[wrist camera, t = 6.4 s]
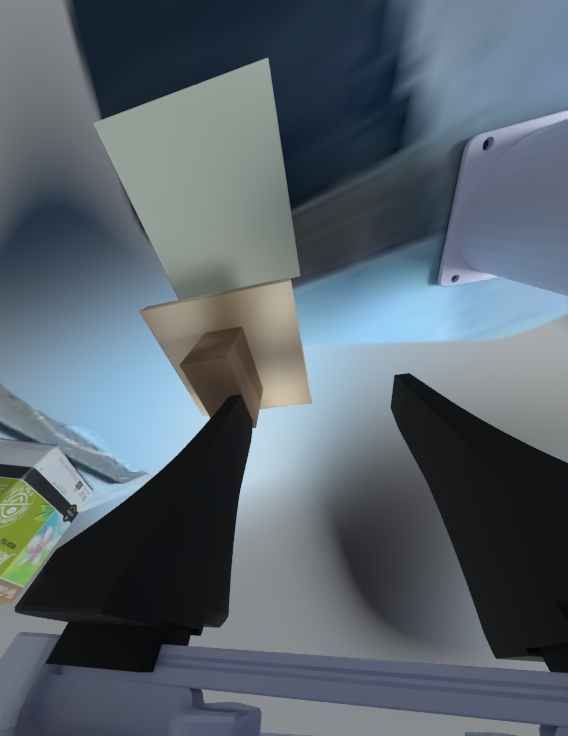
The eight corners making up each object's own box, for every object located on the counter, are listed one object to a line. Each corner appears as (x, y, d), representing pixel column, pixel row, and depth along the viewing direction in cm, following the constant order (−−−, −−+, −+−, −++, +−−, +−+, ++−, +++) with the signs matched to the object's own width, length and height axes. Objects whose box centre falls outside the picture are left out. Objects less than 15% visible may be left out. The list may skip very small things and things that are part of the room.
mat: (269, 65, 11) (267, 57, 10) (300, 274, 16) (300, 276, 16) (101, 127, 12) (92, 123, 12) (182, 299, 18) (179, 301, 17)
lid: (290, 277, 12) (288, 302, 8) (311, 396, 17) (315, 443, 13) (147, 306, 13) (91, 339, 9) (206, 408, 18) (184, 454, 14)
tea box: (98, 490, 40) (12, 607, 28) (43, 484, 40) (-68, 601, 27) (59, 443, 31) (-89, 584, 19) (-11, 435, 31) (-209, 573, 19)
